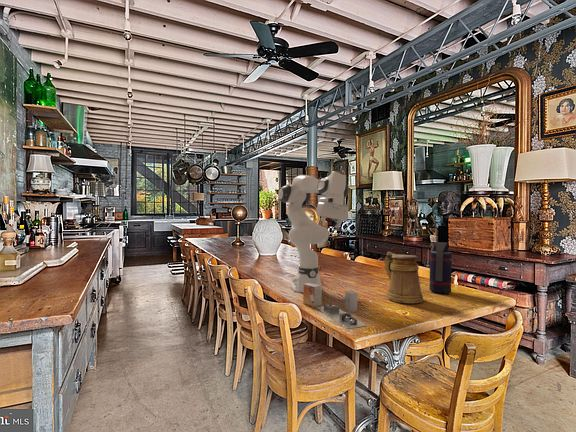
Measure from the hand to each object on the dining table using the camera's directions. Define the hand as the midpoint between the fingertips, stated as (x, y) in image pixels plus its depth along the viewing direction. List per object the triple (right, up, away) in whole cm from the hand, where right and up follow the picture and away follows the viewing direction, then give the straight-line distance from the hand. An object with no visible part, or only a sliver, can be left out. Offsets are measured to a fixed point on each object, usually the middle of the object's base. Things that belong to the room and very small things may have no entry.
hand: (330, 227), depth 175 cm
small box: (-10, -40, -3) cm, 42 cm away
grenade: (+68, -40, +23) cm, 82 cm away
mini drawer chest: (+9, -41, -12) cm, 43 cm away
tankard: (+40, -40, +9) cm, 58 cm away
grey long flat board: (+1, -41, -21) cm, 46 cm away
